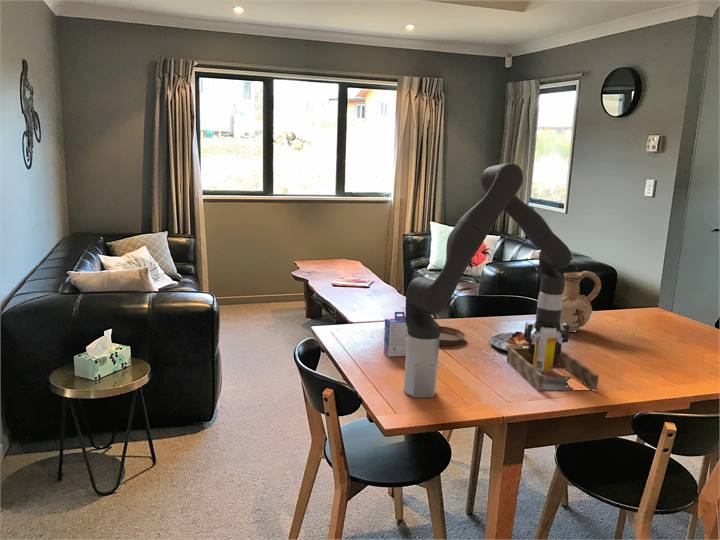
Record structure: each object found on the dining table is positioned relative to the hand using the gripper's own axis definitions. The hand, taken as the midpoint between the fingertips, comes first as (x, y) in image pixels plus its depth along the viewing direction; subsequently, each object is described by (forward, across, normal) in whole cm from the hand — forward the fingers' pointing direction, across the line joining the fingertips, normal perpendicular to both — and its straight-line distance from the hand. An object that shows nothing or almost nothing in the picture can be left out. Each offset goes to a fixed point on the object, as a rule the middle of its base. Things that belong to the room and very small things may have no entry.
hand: (544, 354), depth 190 cm
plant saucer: (+6, -26, +31) cm, 41 cm away
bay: (+5, 0, -5) cm, 7 cm away
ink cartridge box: (+5, -45, +15) cm, 48 cm away
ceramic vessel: (+6, +30, +45) cm, 54 cm away
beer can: (+6, 0, 0) cm, 6 cm away
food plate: (+6, +3, +22) cm, 23 cm away
